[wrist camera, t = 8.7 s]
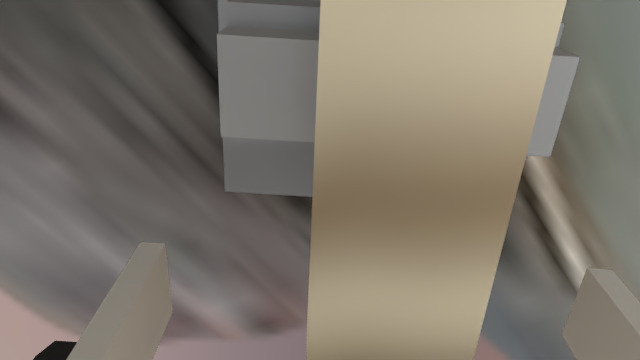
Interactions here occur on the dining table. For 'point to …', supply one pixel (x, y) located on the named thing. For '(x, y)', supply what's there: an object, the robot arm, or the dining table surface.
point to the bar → (418, 168)
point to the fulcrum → (306, 95)
